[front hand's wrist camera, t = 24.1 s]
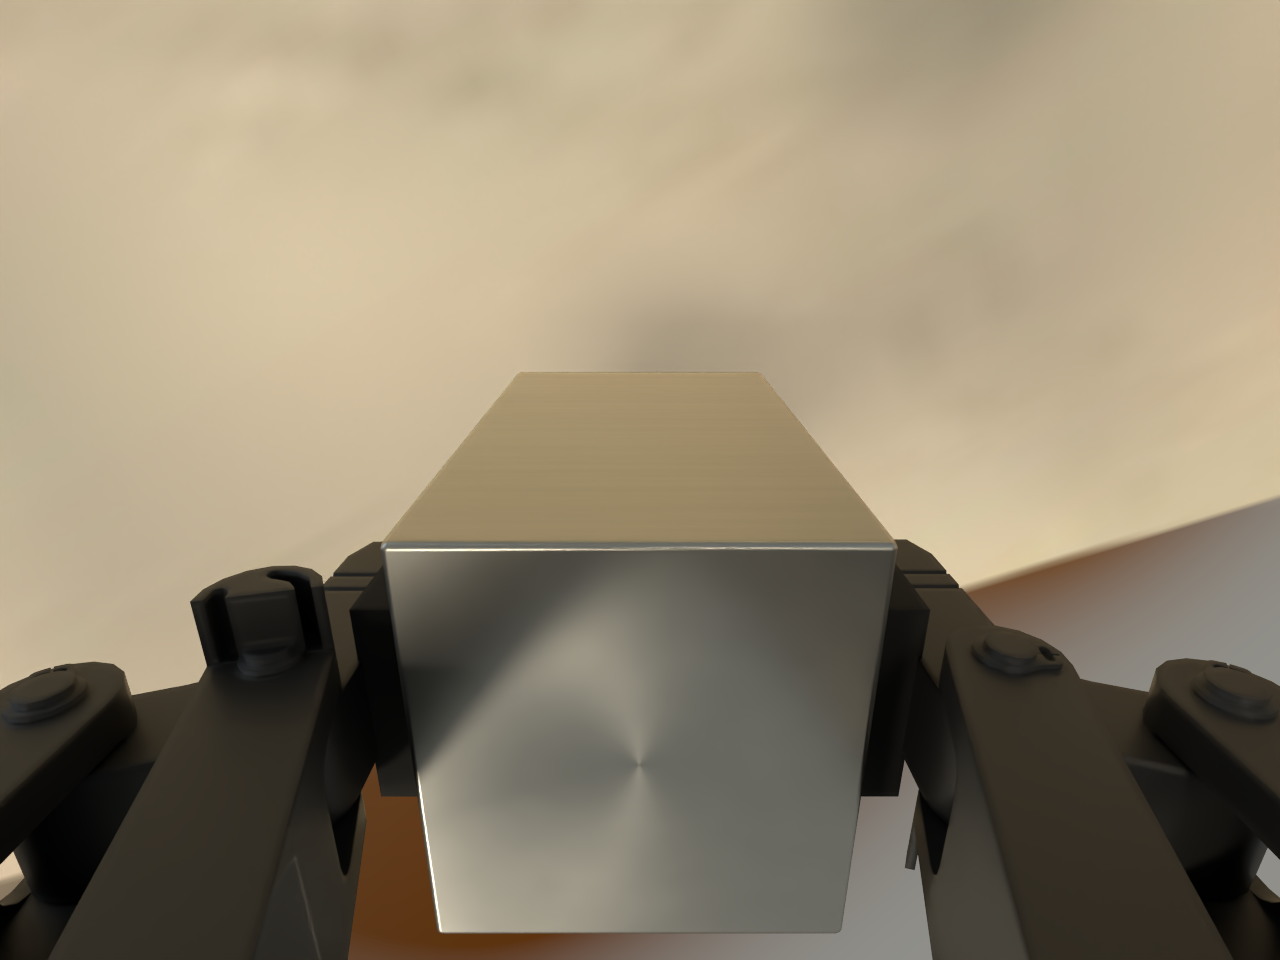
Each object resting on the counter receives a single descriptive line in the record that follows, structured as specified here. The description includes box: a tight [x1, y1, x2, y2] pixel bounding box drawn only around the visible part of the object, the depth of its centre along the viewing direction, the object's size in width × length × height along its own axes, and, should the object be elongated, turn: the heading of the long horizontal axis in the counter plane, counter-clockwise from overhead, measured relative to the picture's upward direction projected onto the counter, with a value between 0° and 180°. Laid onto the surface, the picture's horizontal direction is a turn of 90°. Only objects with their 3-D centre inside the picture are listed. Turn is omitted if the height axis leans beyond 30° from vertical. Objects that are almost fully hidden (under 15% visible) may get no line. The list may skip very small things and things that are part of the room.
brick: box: [381, 372, 897, 933], centre depth 11 cm, size 5×5×8 cm
